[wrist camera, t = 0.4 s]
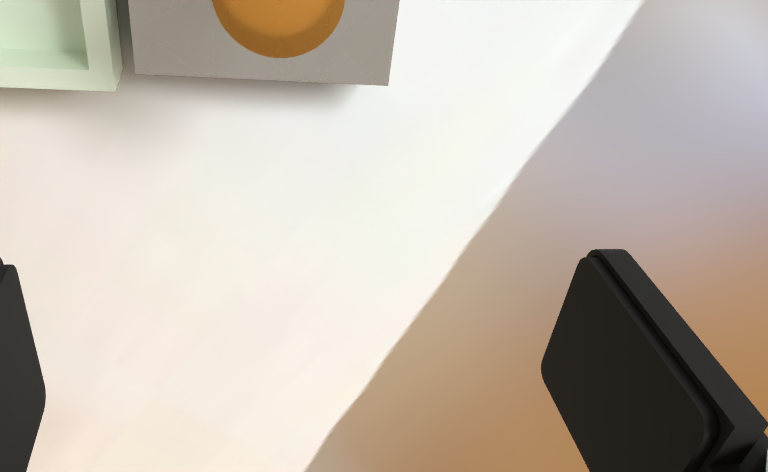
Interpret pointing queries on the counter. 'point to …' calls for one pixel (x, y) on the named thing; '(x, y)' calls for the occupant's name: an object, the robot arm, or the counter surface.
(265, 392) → the counter surface
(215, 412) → the counter surface
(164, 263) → the counter surface
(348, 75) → the grey slotted block
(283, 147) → the counter surface
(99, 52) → the tray
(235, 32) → the pin
